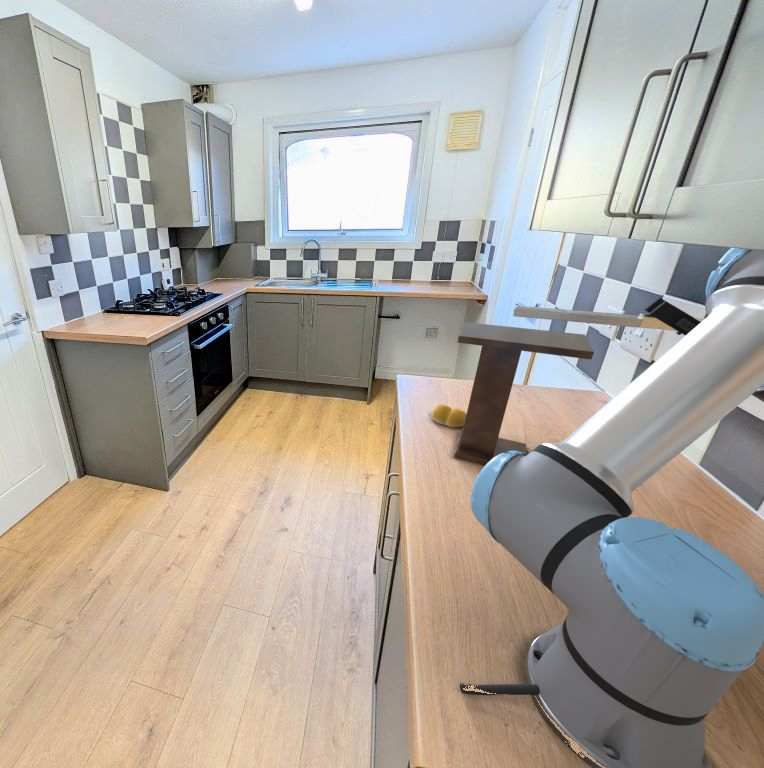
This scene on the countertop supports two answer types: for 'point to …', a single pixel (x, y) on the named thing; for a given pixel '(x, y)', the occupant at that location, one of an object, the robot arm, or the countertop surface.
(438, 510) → the countertop surface
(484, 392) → the shelf stand
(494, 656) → the countertop surface
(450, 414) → the bread roll
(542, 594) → the countertop surface
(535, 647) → the robot arm
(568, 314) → the kitchen knife
